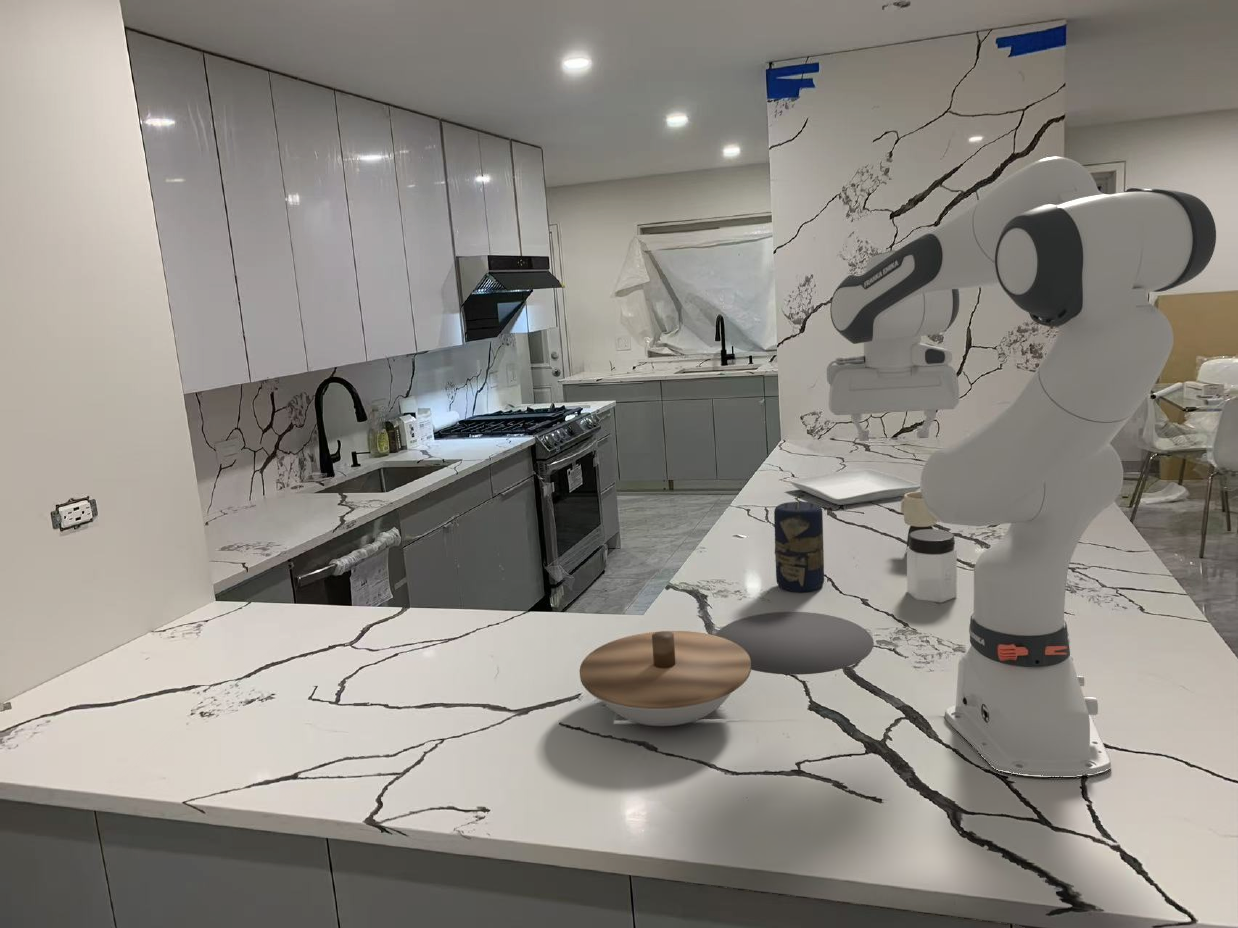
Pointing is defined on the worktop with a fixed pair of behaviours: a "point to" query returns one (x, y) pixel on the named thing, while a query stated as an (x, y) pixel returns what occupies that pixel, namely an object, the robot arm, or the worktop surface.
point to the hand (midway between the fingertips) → (893, 439)
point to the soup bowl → (666, 713)
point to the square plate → (855, 486)
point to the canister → (799, 546)
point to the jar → (932, 565)
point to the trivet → (799, 642)
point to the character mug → (916, 513)
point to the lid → (665, 669)
